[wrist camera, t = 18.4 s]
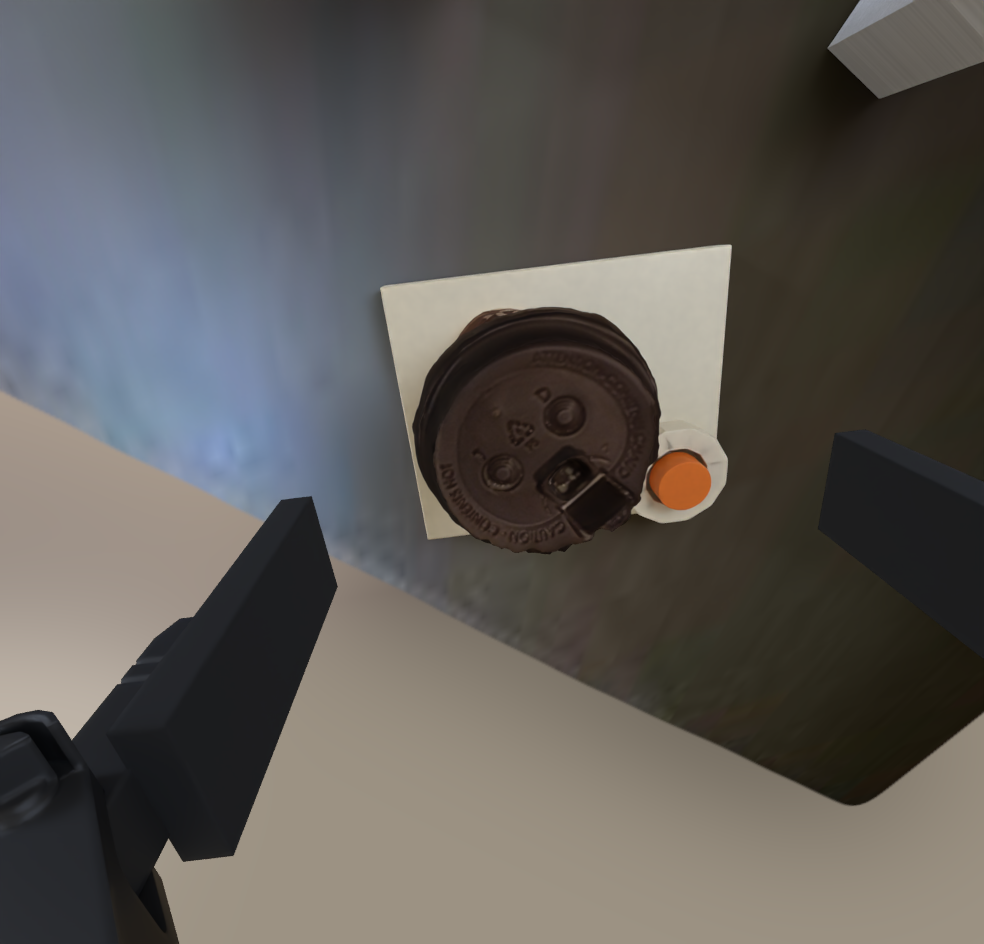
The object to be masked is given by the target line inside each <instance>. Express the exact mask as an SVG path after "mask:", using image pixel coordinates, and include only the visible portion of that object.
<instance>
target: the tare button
mask: <svg viewBox="0 0 984 944" xmlns="http://www.w3.org/2000/svg"><path fill="white" fill-rule="evenodd" d="M649 483H650V486H651V489H652V490H653V492H654V493H655V494H656V495H657V497H658V498H659V499H660V500H661V502H662V503H663V504H664V505H665V506H667V507H668V508H670V509H674V510H687V509H690V508H693V507H695V506H697V505H698V504H700V503H701V502H702V501H703V500H704V499H705V498H706V496H707V495H708V493H709V491H710V488H711V476H710V473H709V471H708V470H707V468H706V467H705V466H703V465H702V464H701V463H700V462H699V461H698V460H697V459H696V458H694V457H693V456H692V455H690V454H688V453H684V452H674V453H670V454H667V455H665V456H663V457H662V458H661V459H659V460H658V461H657V462H656V463H655V465H654V466H653V468H652V470H651V472H650V477H649Z"/></svg>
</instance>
